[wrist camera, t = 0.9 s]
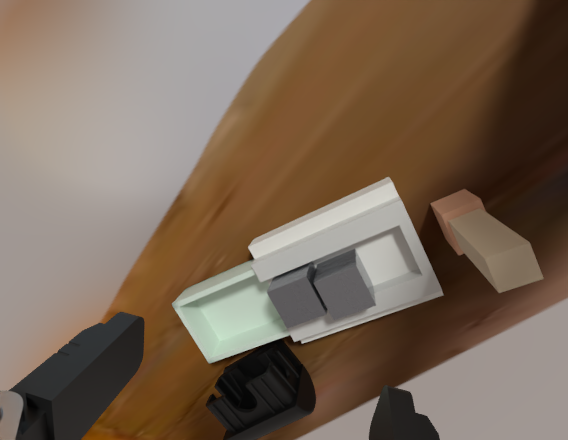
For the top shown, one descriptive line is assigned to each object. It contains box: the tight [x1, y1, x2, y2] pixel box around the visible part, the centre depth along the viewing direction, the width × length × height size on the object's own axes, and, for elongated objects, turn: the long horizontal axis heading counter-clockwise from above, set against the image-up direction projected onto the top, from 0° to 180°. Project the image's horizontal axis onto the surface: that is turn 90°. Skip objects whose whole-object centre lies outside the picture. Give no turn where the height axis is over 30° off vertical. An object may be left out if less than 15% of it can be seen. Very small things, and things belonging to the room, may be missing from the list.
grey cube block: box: [314, 249, 376, 320], centre depth 31 cm, size 4×4×4 cm
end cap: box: [206, 339, 316, 440], centre depth 38 cm, size 10×7×7 cm
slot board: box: [248, 177, 443, 344], centre depth 34 cm, size 15×12×4 cm
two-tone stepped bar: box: [430, 189, 544, 293], centre depth 27 cm, size 3×4×12 cm
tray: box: [172, 259, 290, 364], centre depth 37 cm, size 10×8×4 cm
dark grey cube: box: [267, 261, 327, 328], centre depth 32 cm, size 4×4×4 cm
